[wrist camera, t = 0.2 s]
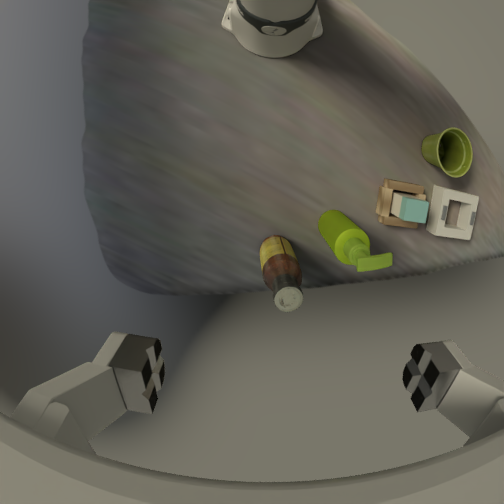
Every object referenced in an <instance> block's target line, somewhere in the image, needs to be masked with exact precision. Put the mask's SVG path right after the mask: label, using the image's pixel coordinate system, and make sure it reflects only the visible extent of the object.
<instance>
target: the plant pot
mask: <svg viewBox="0 0 504 504" xmlns="http://www.w3.org/2000/svg"><path fill="white" fill-rule="evenodd" d="M439 142H440V144H441V147H440V145H439ZM421 150H422V154H423V157H424V158H425V160H426V161H427V162H429V163H431V164H433V165H435V166H437V167H439V168H441V169H442V170H443V171H444V172H445V173H446V174H447V175H449V176H451V177H455V178H457V177H461V176H463V175H464V174H465V173H466V172H467V171H468V170H469V168H470V166H471V163H472V157H473V152H472V146H471V143H470V140H469V138H468V137H467V135H466V134H465V133H464V132H463V131H462V130H460V129H458V128H454V127H453V128H448V129H446V130H444V131H443V132H442V133H438V134H434V135H429V136H427V137H426V138H425V139H424V140H423V143H422V148H421Z"/></svg>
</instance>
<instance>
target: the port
mask: <svg viewBox="0 0 504 504" xmlns="http://www.w3.org/2000/svg"><path fill="white" fill-rule="evenodd" d="M449 199H451V200H456V201H460V202H461V206H460V211H459V216H458V221H457V226H456V225H450V224H445V221H446V216H447V211H448V205H449ZM478 199H479V197H478V196H475V195H472V194H469V193H466V192H462V191H458V190H454V189H450V188H445V187H441V186H437V185H434V188H433V195H432V201H431V207H430V212H429V217H428V222H427V227H426V230H427V231H429V232H430V233H432V234H434V235H436V236H443V237H451V238H458V239H465V240H470V238H471V234H472V229H473V225H474V220H475V215H476V210H477V205H478Z"/></svg>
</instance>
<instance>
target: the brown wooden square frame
mask: <svg viewBox="0 0 504 504" xmlns="http://www.w3.org/2000/svg"><path fill="white" fill-rule="evenodd" d="M393 189H394V190H400V191H406V192H411V193H413V194H412V195H413V196H415V197H418V198H420V199H422V200H425V199H426V195H424V194H423V192H424V187H423V186H420V185H417V184H412V183H407V182H401V181H396V180H390V179H385V178H384V184H383V186H380V187H379V194H378V201H377V207H376V213H378V214H379V217H378V221H379V222H381V223H382V224H385V225H393V226H401V227H409V228H417V226H418V222H412V221H405V220H402V219H400V218H399V217H397V216H395V215H393V214H389V212H390V206H391V199H392V193H393Z"/></svg>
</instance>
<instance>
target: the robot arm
mask: <svg viewBox="0 0 504 504" xmlns="http://www.w3.org/2000/svg"><path fill="white" fill-rule="evenodd" d="M228 18H229V19H230V20H228ZM222 27H223V28H224V29H225V30H227V31H229V32H230V33H232V34H234V35H235V37H236V38H237V40H238V41H239V42H240V44H241V45H242V46H243V47H245V48H246V49H247V50H249V51H251V52H252V53H255V54H257V55H260V56H264V57H271V58H277V57H285V56H289V55H291V54H294V53H296V52H297V51H299V50H300V49H302V48H303V47H304V46H305V45H306V44H307V43H308V42H309V41H310V40H312V39H315V38H318V37H320V36H321V35H322V33H323V28H322V23H321V19H320V14H319V10H318V6H317V0H229V4H228V7H227V9H226V12H225V15H224V17H223V20H222ZM161 351H162V346H161V341H160V340H159V339H158V338H152V337H145V336H139V335H133V334H126V333H121V332H113V333H111V335H110V336H109V338H108V339H107V341H106V342H105V344H104V345H103V347H102V348H101V350H100V351H99V353H98V354H97V356H96V357H95V359H94V360H93V362H92V363H90V362H87V363H85V364H83V365H80V366H78V367H76V368H74V369H72V370H70V371H68V372H66V373H64V374H62V375H60V376H58V377H55V378H53V379H51V380H49V381H47V382H45V383H43V384H41V385H38V386H36V387H34V388H32V389H30V390H29V391H28V392H27V394H26V395H25V396H24V398H23V399H22V401H21V402H20V403H19V405H18V406H17V408H16V409H15V411H14V412H13V414H12V415H11V416H10V417H8V416H7V415H5V414H3V413H1V412H0V504H504V380H502V379H500V378H498V377H496V376H494V375H493V374H491V373H489V372H487V371H485V370H483V369H481V368H479V367H477V366H473V365H472V364H471V363H470V361H469V360H468V359H467V358H466V356H465V355H464V354H463V352H461V350H460V349H459V347H458V346H457V345H456V344H455V343H454V341H452V340H445V341H439V342H432V343H423V344H416V345H415V346H414V347H413V349H412V351H411V357H412V359H411V360H410V361H409V362H408V363H406V366H405V368H404V371H403V383H404V386H405V388H406V390H408V391H409V392H411V393H412V396H411V400H412V402H413V404H414V406H415V408H416V411H417V412H422V411H427V410H432V409H437V410H438V411H439V412H440V413H441V414H442V415H444V416H445V417H446V418H447V419H448V420H450V421H451V422H452V423H453V424H455V425H456V426H457V427H458V428H459V429H460V430H462V431H463V432H464V433H465V434H466V435H468V436H469V437H470V438H469V439H468V441H467V442H466V443H465V444H464V446H463V447H461V448H459V449H456V450H453V451H450V452H447V453H445V454H442V455H439V456H436V457H432V458H429V459H426V460H423V461H419V462H416V463H412V464H408V465H405V466H401V467H396V468H392V469H388V470H383V471H378V472H373V473H367V474H362V475H355V476H349V477H341V478H333V479H324V480H313V481H297V482H241V481H225V480H213V479H205V478H197V477H189V476H182V475H176V474H171V473H165V472H160V471H155V470H150V469H145V468H141V467H137V466H133V465H129V464H125V463H122V462H118V461H115V460H111V459H108V458H104V457H101V456H98V455H96V453H95V451H94V450H93V449H92V447H91V445H90V444H89V442H88V441H89V440H90V439H92V438H93V437H94V436H95V435H97V434H98V433H99V432H101V431H102V430H103V429H104V428H106V427H107V426H108V425H110V424H111V423H112V422H113V421H115V420H116V419H117V418H119V417H120V416H121V415H122V414H124V413H125V412H126V411H127V410H131V411H137V412H142V413H149V414H153V412H154V409H155V406H156V403H157V400H158V396H157V391H158V390H160V389H161V388H162V385H163V382H164V376H165V364H164V360H163V359H162V358H161V357H160V353H161Z"/></svg>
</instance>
